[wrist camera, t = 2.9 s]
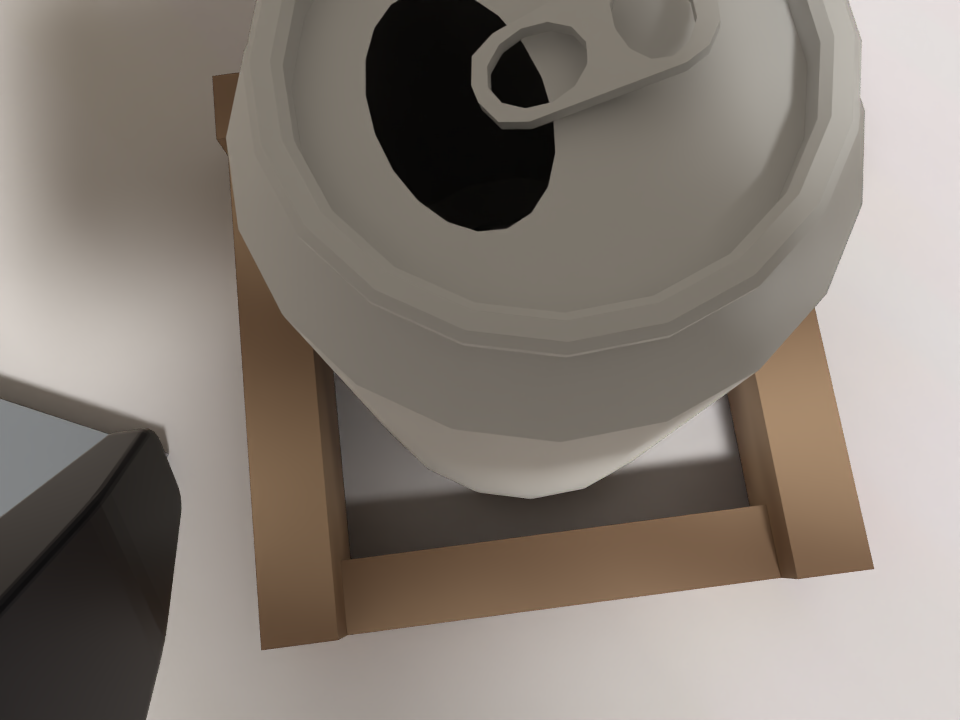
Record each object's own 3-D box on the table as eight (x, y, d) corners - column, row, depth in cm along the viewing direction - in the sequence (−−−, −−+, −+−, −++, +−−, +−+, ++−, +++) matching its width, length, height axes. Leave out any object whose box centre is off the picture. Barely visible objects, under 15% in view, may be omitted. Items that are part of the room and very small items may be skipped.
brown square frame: (831, 567, 19) (892, 569, 16) (289, 638, 19) (249, 655, 16) (726, 80, 21) (761, 5, 18) (252, 141, 21) (212, 75, 18)
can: (323, 252, 21) (89, -146, 9) (611, 152, 21) (748, -354, 9) (424, 549, 19) (298, 539, 7) (733, 434, 19) (1088, 251, 8)
